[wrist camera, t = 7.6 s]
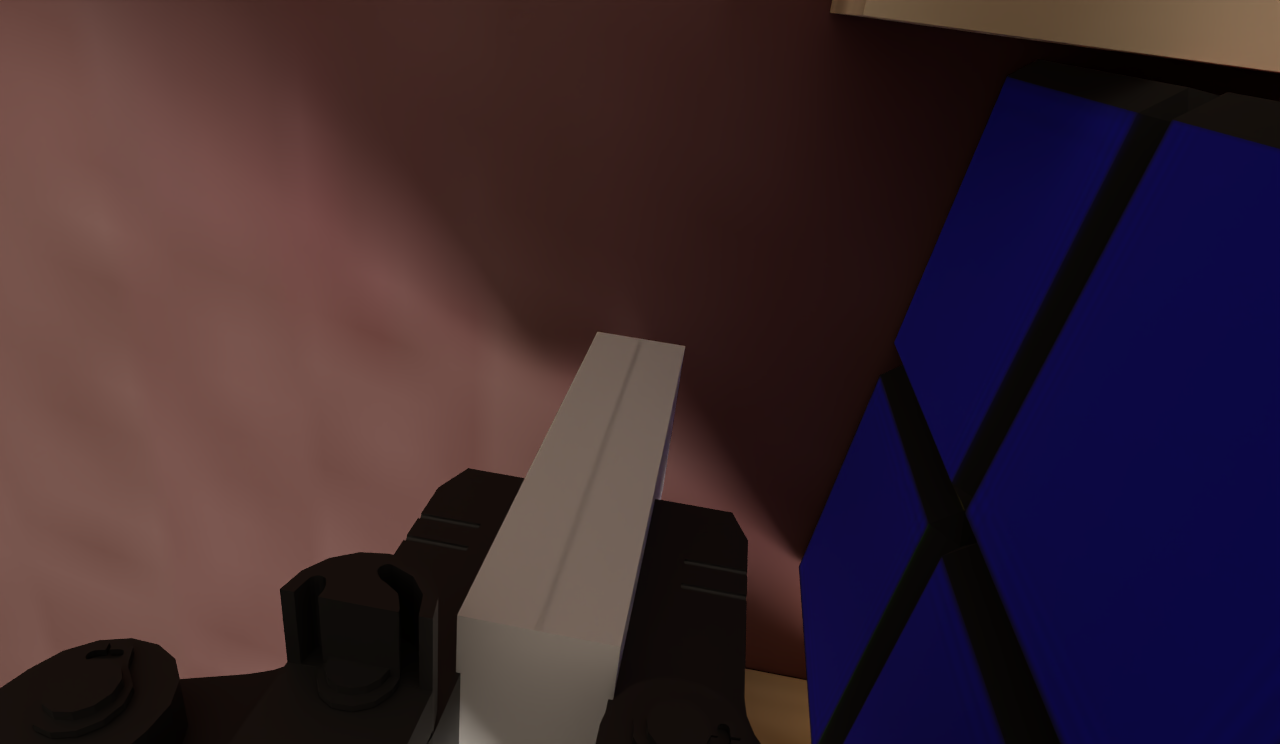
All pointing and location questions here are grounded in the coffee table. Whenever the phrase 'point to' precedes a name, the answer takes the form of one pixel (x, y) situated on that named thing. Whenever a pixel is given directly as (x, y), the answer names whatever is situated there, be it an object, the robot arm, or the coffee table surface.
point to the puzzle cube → (1071, 442)
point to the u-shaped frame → (1071, 15)
